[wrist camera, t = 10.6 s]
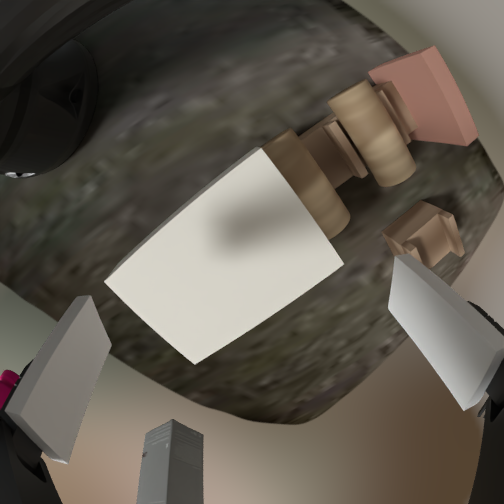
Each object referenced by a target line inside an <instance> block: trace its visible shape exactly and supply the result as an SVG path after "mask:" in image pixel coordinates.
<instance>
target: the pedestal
mask: <svg viewBox="0 0 504 504" xmlns="http://www.w3.org/2000/svg"><path fill="white" fill-rule="evenodd" d="M382 234H383V236H384V238H385V240H386V242H387V243H388V245H389V247H390V249H391V251H392V253H393V255H394V257H395V256H396V255H402V254H408V253H409V254H410V255H412V256H413V257H414V258H415V259H417V260H418V261H419V262H421V263H422V264H423V265H424V266H426V267H427V268H428V269H431V268H432V267H433V266H434V265H435V264H436V263H437V262H439V261H440V260H441V259H442V258H443V257H444V256H445V255H446V254H447V253H449V252H450V251H452V252H453V253H455V254H456V255H458V256H460V257H461V256H462V255H463V254H464V253H465V252H464V248H463V245H462V241H461V238H460V235H459V231H458V228H457V225H456V222H455V219H454V216H453V214H451V213H448V212H446V211H444V210H442V209H440V208H438V207H436V206H433V205H431V204H429V203H426V202H424V201H422V200H420V201H419V202H417V203H416V204H415V205H414V206H413V207H411V208H410V209H409V210H408V211H407V212H405V213H404V214H403V215H402V216H400V217H399V218H398V219H397V220H395V221H394V222H393V223H392V224H391V225H389V226H388V227H387V228H385V229H384V230H383V231H382Z"/></svg>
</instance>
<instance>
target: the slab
mask: <svg viewBox="0 0 504 504" xmlns="http://www.w3.org/2000/svg"><path fill="white" fill-rule="evenodd" d="M343 264H344V263H343V262H342V260H341V259H340V257H339V256H338V254H337V253H336V251H335V250H334V248H333V247H332V245H331V244H330V242H329V241H328V239H327V238H326V236H325V235H324V233H323V232H322V230H321V229H320V227H319V226H318V225H317V223H316V222H315V220H314V219H313V217H312V216H311V215H310V213H309V212H308V210H307V209H306V207H305V206H304V205H303V203H302V202H301V201H300V199H299V198H298V196H297V195H296V194H295V192H294V191H293V189H292V188H291V187H290V185H289V184H288V183H287V181H286V180H285V179H284V177H283V176H282V175H281V173H280V172H279V171H278V169H277V168H276V167H275V165H274V164H273V163H272V161H271V160H270V159H269V157H268V156H267V155H266V154H265V152H264V151H263V150H262V148H259V147H255V148H254V149H253V150H251V151H250V152H249V153H247V154H246V155H245V156H243V157H242V158H241V159H239V160H238V161H237V162H235V163H234V164H233V165H232V166H230V167H229V168H228V169H226V170H225V171H224V172H223V173H221V174H220V175H219V176H218V177H216V178H215V179H214V180H213V181H211V182H210V183H209V184H208V185H206V186H205V187H204V188H203V189H202V190H200V191H199V192H198V193H197V194H196V195H194V196H193V197H192V198H191V199H190V200H188V201H187V202H186V203H185V204H184V205H182V206H181V207H180V208H179V209H178V210H177V211H175V212H174V213H173V214H172V215H171V216H170V217H168V218H167V219H166V220H165V221H164V222H163V223H162V224H161V225H159V226H158V227H157V228H156V229H155V230H154V231H153V232H152V233H150V234H149V235H148V236H147V237H146V238H145V239H144V240H143V241H142V242H141V243H139V244H138V245H137V246H136V247H135V248H134V249H133V250H132V251H131V252H130V253H129V254H128V255H127V256H126V257H124V258H123V259H122V260H121V261H120V262H119V263H118V264H117V266H116V267H115V268H114V270H113V271H112V272H111V273H110V275H109V276H108V277H107V279H106V280H105V281H104V282H105V283H106V284H107V285H108V286H109V287H110V288H111V289H112V290H113V291H114V292H115V293H116V294H117V295H118V296H119V297H120V298H121V299H122V300H123V301H124V302H125V303H126V304H127V305H128V306H129V307H130V308H131V309H132V310H133V311H134V312H135V313H136V314H137V315H138V316H139V317H141V318H142V319H143V320H144V321H145V322H146V323H147V324H148V325H149V326H150V327H151V328H153V329H154V330H155V331H156V332H157V333H158V334H159V335H160V336H161V337H163V338H164V339H165V340H166V341H167V342H168V343H170V344H171V345H172V346H173V347H174V348H175V349H177V350H178V351H179V352H180V353H181V354H182V355H184V356H185V357H186V358H187V359H189V360H190V361H191V362H192V363H193V364H196V363H198V362H199V361H201V360H203V359H204V358H206V357H208V356H209V355H211V354H212V353H214V352H216V351H217V350H219V349H221V348H222V347H224V346H225V345H227V344H228V343H230V342H232V341H233V340H235V339H236V338H238V337H239V336H241V335H243V334H244V333H246V332H247V331H249V330H250V329H252V328H253V327H255V326H256V325H258V324H259V323H261V322H262V321H264V320H265V319H267V318H268V317H270V316H271V315H273V314H274V313H276V312H277V311H279V310H280V309H282V308H283V307H285V306H286V305H288V304H289V303H290V302H292V301H293V300H295V299H296V298H298V297H299V296H301V295H302V294H303V293H305V292H306V291H308V290H309V289H310V288H312V287H313V286H315V285H316V284H317V283H319V282H320V281H322V280H323V279H324V278H326V277H327V276H329V275H330V274H331V273H333V272H334V271H335V270H337V269H338V268H339V267H341V266H342V265H343Z"/></svg>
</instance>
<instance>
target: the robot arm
mask: <svg viewBox="0 0 504 504" xmlns="http://www.w3.org/2000/svg"><path fill="white" fill-rule="evenodd" d="M131 1H133V0H0V174H3V175H4V174H5V175H7V176H10V177H14V178H29V177H33V176H37V175H40V174H44V173H47V172H49V171H51V170H53V169H55V168H56V167H58V166H59V165H61V164H62V163H63V162H64V161H65V160H66V159H67V158H68V157H69V156H70V155H71V154H72V153H73V152H74V151H75V149H76V148H77V147H78V145H79V144H80V142H81V141H82V139H83V137H84V135H85V133H86V131H87V129H88V127H89V125H90V122H91V120H92V117H93V113H94V110H95V106H96V101H97V93H98V77H97V71H96V67H95V63H94V61H93V58H92V56H91V55H90V53H89V51H88V50H87V49H86V48H85V47H84V46H83V45H82V44H81V43H79V42H77V41H76V40H74V39H72V38H74V37H75V36H77V35H78V34H79V33H81V32H82V31H84V30H85V29H87V28H88V27H90V26H91V25H93V24H94V23H96V22H97V21H99V20H100V19H102V18H103V17H105V16H107V15H108V14H110V13H112V12H113V11H115V10H117V9H119V8H120V7H122V6H124V5H126V4H128V3H129V2H131ZM388 309H389V311H390V312H391V313H392V314H393V316H394V317H395V318H396V319H397V321H398V322H399V323H400V324H401V326H402V327H403V328H404V329H405V331H406V332H407V333H408V335H409V336H410V337H411V338H412V340H413V341H414V342H415V344H416V345H417V346H418V348H419V349H420V350H421V352H422V353H423V354H424V356H425V357H426V358H427V360H428V361H429V362H430V364H431V365H432V366H433V368H434V369H435V370H436V372H437V373H438V375H439V376H440V377H441V379H442V380H443V382H444V383H445V384H446V386H447V387H448V388H449V390H450V391H451V393H452V394H453V396H454V397H455V399H456V400H457V402H458V403H459V405H460V406H461V408H462V409H463V411H464V410H466V409H468V408H470V407H471V406H473V405H475V404H477V403H478V402H479V401H480V399H481V398H482V396H483V394H484V393H485V391H486V392H487V393H488V394H489V397H488V399H487V400H486V402H485V404H484V405H483V407H482V408H481V410H480V411H479V413H478V417H480V416H481V414H482V413H483V412H484V410H485V409H486V410H485V415H484V418H485V422H484V430H483V438H482V444H481V451H480V456H479V462H478V467H477V472H476V476H475V480H474V485H473V488H472V492H471V496H470V500H469V503H468V504H504V329H503V328H502V327H501V326H500V325H499V324H498V323H497V322H494V319H493V318H491V317H490V316H488V314H487V313H486V312H485V311H484V310H483V309H481V308H480V307H479V306H477V305H475V304H474V303H472V302H469V301H466V300H464V299H463V298H462V297H461V296H460V295H459V294H458V293H457V292H455V291H454V290H453V289H452V288H451V287H450V286H449V285H447V284H446V283H445V282H444V281H443V280H441V279H440V278H439V277H438V276H437V275H435V274H434V273H433V272H432V271H430V270H429V269H428V268H427V267H426V266H424V265H423V264H422V263H421V262H419V261H418V260H417V259H415V258H414V257H413V256H412V255H410V254H409V253H408V254H402V255H396V256H395V260H394V269H393V277H392V285H391V292H390V298H389V305H388ZM110 348H111V342H110V340H109V338H108V336H107V334H106V331H105V329H104V327H103V324H102V322H101V320H100V317H99V315H98V313H97V310H96V308H95V305H94V303H93V300H92V297H91V295H89V296H79V297H76V299H75V300H74V301H73V303H72V304H71V305H70V307H69V308H68V309H67V311H66V312H65V314H64V315H63V316H62V318H61V319H60V321H59V322H58V324H57V325H56V327H55V328H54V329H53V331H52V332H51V334H50V335H49V337H48V338H47V340H46V341H45V343H44V344H43V346H42V348H41V349H40V350H39V352H38V354H37V355H36V357H35V358H34V359H33V360H32V361H31V362H30V363H29V364H28V365H27V366H26V367H25V368H24V370H23V371H22V373H21V374H20V376H19V379H17V381H16V383H15V386H13V388H12V390H11V391H10V393H9V395H8V397H7V399H6V400H5V402H4V404H3V406H2V408H1V410H0V504H63V503H62V502H61V499H60V497H59V495H58V493H57V490H56V489H55V486H54V484H53V481H52V479H51V476H50V474H49V471H48V469H47V466H46V464H45V462H44V460H43V459H42V458H41V454H42V451H43V452H44V453H45V454H46V455H47V456H48V457H49V458H50V459H52V460H54V461H58V462H62V463H66V464H68V463H69V460H70V456H71V453H72V450H73V446H74V443H75V440H76V437H77V434H78V431H79V428H80V425H81V422H82V419H83V416H84V414H85V411H86V408H87V405H88V403H89V400H90V397H91V395H92V392H93V389H94V387H95V384H96V382H97V379H98V377H99V374H100V372H101V369H102V367H103V364H104V362H105V359H106V357H107V355H108V352H109V350H110Z"/></svg>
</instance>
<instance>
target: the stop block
mask: <svg viewBox="0 0 504 504" xmlns="http://www.w3.org/2000/svg"><path fill="white" fill-rule="evenodd" d="M368 73H369V75H370V76H371V78H372V79H373V81H374V82H375V84H376V85H377V84H381V83H384V82H388V81H392V83H393V84H394V86H395V87H396V89H397V91H398V92H399V94H400V96H401V97H402V99H403V101H404V102H405V104H406V106H407V108H408V109H409V111H410V113H411V115H412V117H413V119H414V120H415V122H416V124H417V126H418V128H416V129H415V130H414V131H412V132H411V133H410V134H408V136H409V138H410V140H420V141H430V142H439V143H447V144H454V145H461V146H468V145H469V144H470V143H471V142H472V141H474V140H475V139H476V138H477V137H478V136H479V134H478V131H477V128H476V126H475V123H474V121H473V119H472V116H471V114H470V111H469V109H468V107H467V105H466V102H465V100H464V98H463V96H462V94H461V92H460V90H459V88H458V86H457V84H456V82H455V80H454V78H453V76H452V74H451V72H450V71H449V69H448V67H447V65H446V63H445V62H444V60H443V58H442V56H441V55H440V53H439V51H438V50H437V48H436V46H431V47H428V48H425V49H423V50H419V51H416V52H413V53H410V54H407V55H405V56H402V57H399V58H396V59H394V60H391V61H388V62H386V63H383V64H381V65H379V66H377V67H376V68H374V69H372V70H370V71H369V72H368Z"/></svg>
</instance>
